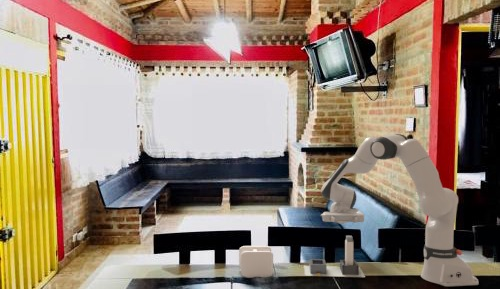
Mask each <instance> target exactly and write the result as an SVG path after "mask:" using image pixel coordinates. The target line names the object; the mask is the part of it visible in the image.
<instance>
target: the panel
mask: <svg viewBox="0 0 500 289" xmlns="http://www.w3.org/2000/svg"><path fill="white" fill-rule="evenodd" d="M303 269H304V277H305V276H306V277H307V276H309V277H311V276H312V277H336V278H337V277H338V278H339V277H344V278H366V276H365V274H364V272H363V270H362V267H361V266H359V264H358V263H357V260H355V259H353V265H345V259H339V266H338V265H337V266H336V265H334V266H333V265H332V266H331V265H330V266H329V265H326V274H320V273H317V274H311V273H310V268H309V265H303Z"/></svg>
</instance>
